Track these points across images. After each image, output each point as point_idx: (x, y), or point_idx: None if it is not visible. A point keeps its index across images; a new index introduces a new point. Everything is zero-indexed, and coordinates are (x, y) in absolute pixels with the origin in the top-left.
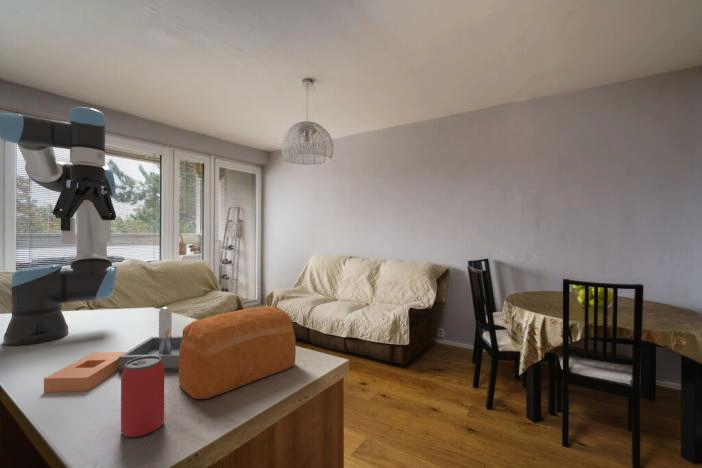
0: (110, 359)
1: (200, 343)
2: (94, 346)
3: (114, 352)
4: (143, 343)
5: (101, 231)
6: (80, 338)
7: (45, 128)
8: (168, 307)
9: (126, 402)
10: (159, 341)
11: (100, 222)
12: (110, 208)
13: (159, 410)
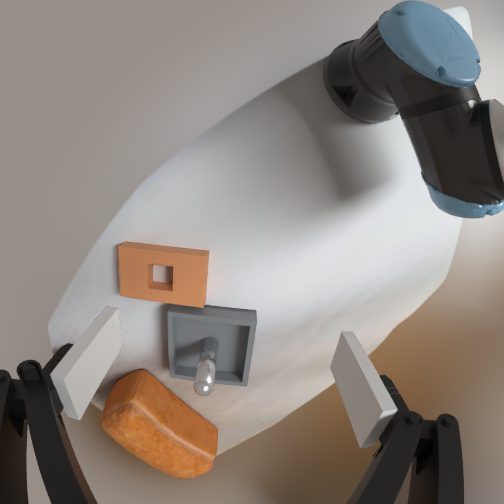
0: (173, 296)
1: (102, 419)
2: (297, 207)
3: (202, 288)
4: (222, 322)
5: (356, 374)
6: (351, 157)
7: None
8: (205, 395)
9: None
10: (202, 352)
11: (374, 406)
12: (409, 497)
13: None
